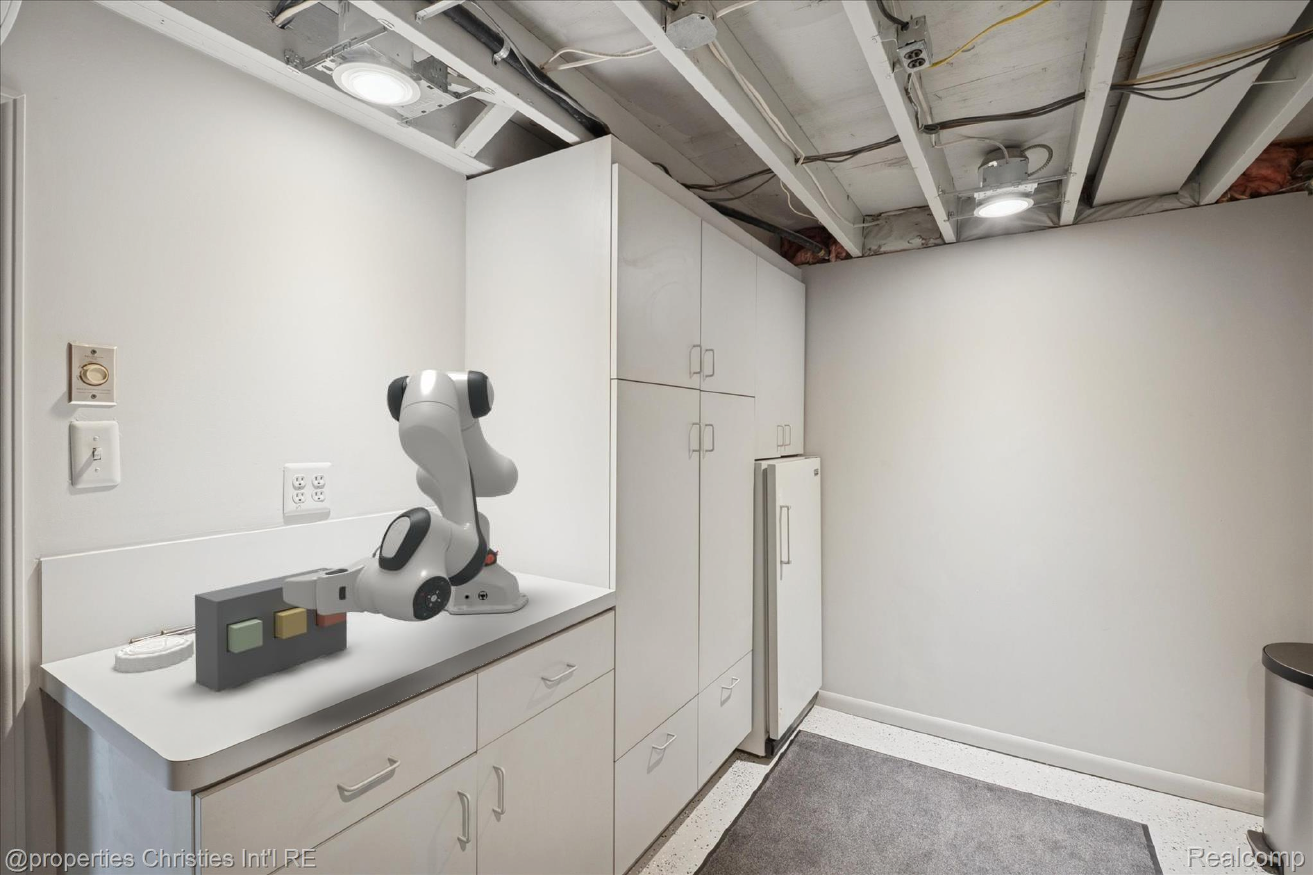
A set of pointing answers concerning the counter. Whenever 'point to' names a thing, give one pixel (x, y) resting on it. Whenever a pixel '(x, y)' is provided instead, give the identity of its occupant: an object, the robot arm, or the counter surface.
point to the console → (275, 653)
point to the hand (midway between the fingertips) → (323, 573)
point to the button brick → (329, 619)
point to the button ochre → (290, 622)
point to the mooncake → (154, 653)
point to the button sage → (244, 635)
